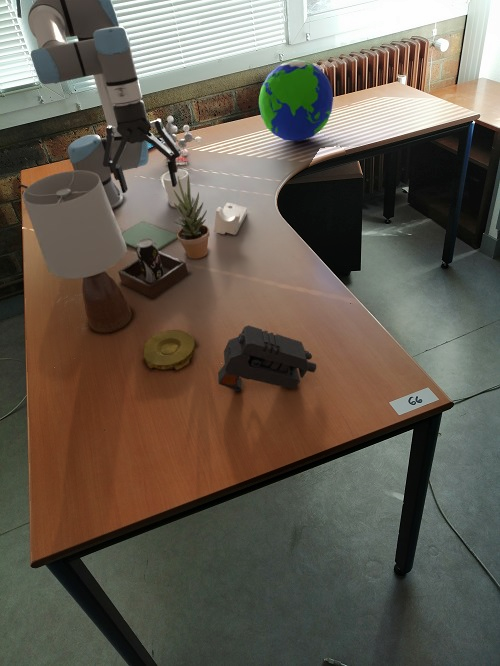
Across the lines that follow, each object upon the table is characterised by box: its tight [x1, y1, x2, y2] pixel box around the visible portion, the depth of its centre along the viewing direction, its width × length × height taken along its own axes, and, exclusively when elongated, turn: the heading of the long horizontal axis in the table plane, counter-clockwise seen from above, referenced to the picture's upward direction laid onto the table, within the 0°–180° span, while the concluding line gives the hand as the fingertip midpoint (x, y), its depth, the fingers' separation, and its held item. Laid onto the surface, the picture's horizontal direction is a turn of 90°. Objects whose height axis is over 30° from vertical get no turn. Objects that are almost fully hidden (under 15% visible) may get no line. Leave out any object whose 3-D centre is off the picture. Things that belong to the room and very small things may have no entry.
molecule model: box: [162, 115, 202, 167], centre depth 204 cm, size 20×16×16 cm
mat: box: [121, 221, 178, 251], centre depth 161 cm, size 18×12×1 cm, turn 50°
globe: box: [258, 59, 334, 142], centre depth 202 cm, size 30×30×30 cm
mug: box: [159, 168, 193, 209], centre depth 175 cm, size 11×9×10 cm
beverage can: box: [135, 238, 165, 284], centre depth 139 cm, size 6×6×12 cm
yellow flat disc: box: [142, 329, 196, 371], centre depth 118 cm, size 12×12×2 cm
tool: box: [217, 324, 317, 392], centre depth 105 cm, size 6×19×15 cm, turn 95°
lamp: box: [22, 170, 132, 334], centre depth 119 cm, size 19×19×37 cm
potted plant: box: [173, 174, 211, 260], centre depth 143 cm, size 10×10×25 cm
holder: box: [117, 250, 189, 300], centre depth 142 cm, size 14×14×4 cm
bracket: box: [213, 202, 248, 236], centre depth 160 cm, size 13×7×8 cm, turn 165°
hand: (149, 188), depth 133 cm, fingers open, 13 cm apart
